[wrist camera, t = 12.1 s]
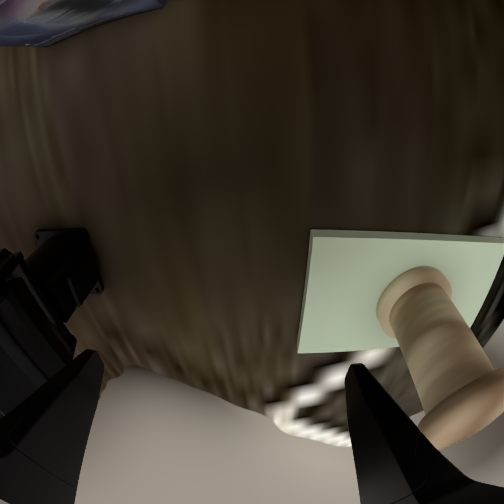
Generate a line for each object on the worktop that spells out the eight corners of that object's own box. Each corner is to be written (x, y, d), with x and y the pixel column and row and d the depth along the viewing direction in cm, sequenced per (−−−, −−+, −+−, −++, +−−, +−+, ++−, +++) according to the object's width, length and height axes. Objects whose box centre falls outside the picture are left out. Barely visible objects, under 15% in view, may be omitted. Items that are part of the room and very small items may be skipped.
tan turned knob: (379, 339, 25) (417, 460, 14) (371, 283, 21) (431, 427, 10) (444, 314, 23) (499, 419, 12) (447, 254, 20) (532, 370, 9)
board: (296, 343, 27) (297, 353, 26) (310, 229, 21) (313, 237, 20) (461, 329, 26) (465, 336, 25) (500, 237, 20) (507, 243, 19)
